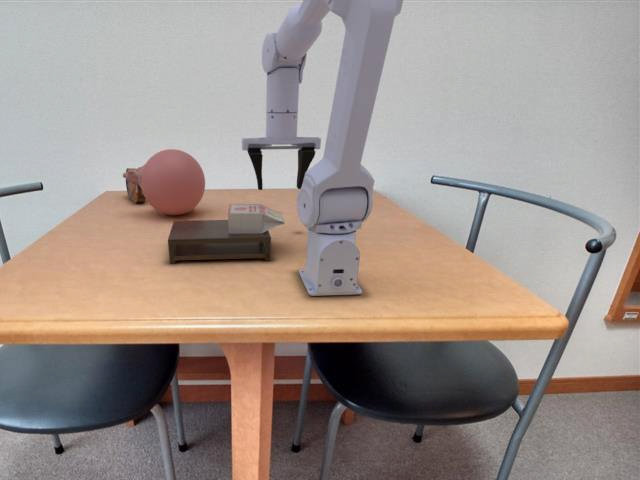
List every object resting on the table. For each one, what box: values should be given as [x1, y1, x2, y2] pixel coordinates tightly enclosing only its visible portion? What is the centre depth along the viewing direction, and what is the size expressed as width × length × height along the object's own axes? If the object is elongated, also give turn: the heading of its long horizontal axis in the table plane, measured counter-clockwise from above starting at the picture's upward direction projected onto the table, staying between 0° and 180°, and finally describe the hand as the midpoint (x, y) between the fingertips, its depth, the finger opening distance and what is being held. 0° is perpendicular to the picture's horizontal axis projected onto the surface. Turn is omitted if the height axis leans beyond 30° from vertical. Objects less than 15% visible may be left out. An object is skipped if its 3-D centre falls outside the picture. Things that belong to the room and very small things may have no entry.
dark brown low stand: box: [167, 219, 272, 265], centre depth 82 cm, size 12×18×4 cm, turn 93°
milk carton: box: [227, 203, 285, 234], centre depth 80 cm, size 4×7×10 cm
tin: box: [125, 167, 147, 204], centre depth 121 cm, size 15×3×8 cm, turn 25°
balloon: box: [122, 148, 206, 216], centre depth 105 cm, size 15×20×15 cm
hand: (279, 188), depth 84 cm, fingers open, 7 cm apart
